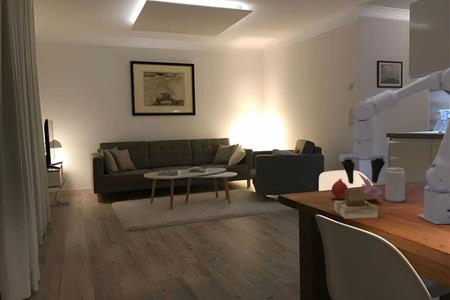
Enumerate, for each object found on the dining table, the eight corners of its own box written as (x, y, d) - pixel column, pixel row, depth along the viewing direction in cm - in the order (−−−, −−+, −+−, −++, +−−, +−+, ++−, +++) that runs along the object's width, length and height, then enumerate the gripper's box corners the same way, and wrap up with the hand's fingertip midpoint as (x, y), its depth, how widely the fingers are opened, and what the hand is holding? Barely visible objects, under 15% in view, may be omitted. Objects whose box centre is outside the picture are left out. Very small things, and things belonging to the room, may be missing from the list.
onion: (330, 200, 139) (330, 179, 138) (333, 197, 144) (333, 177, 143) (346, 201, 136) (346, 180, 135) (349, 198, 141) (349, 177, 140)
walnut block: (364, 207, 116) (364, 191, 116) (350, 208, 116) (350, 192, 116) (359, 204, 121) (359, 189, 120) (345, 204, 120) (345, 189, 120)
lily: (380, 210, 127) (392, 185, 128) (347, 194, 131) (359, 170, 132) (377, 212, 139) (388, 189, 139) (346, 198, 143) (357, 176, 143)
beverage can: (406, 202, 133) (407, 169, 132) (387, 202, 134) (387, 169, 133) (401, 199, 139) (402, 167, 138) (383, 198, 140) (383, 167, 139)
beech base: (377, 217, 113) (377, 207, 113) (345, 218, 113) (345, 207, 113) (364, 209, 123) (364, 200, 123) (334, 210, 123) (334, 200, 123)
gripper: (379, 139, 122) (379, 180, 123) (335, 140, 121) (336, 181, 122) (390, 140, 114) (389, 183, 116) (343, 141, 114) (343, 185, 115)
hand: (362, 183), depth 118 cm, fingers open, 7 cm apart
